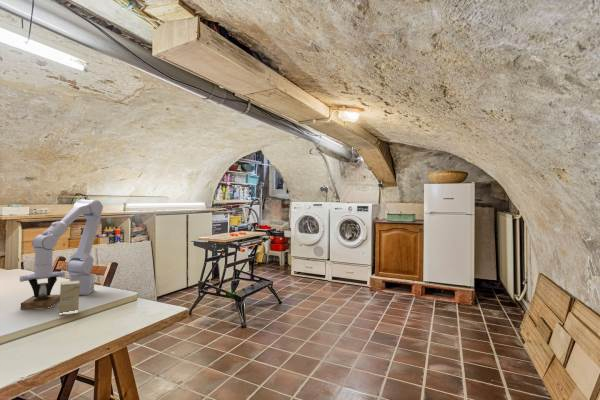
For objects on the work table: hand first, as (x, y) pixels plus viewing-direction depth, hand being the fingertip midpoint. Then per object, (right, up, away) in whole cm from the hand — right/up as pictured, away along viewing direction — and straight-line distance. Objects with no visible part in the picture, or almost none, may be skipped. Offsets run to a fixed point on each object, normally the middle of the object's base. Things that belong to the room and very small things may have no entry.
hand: (42, 296), depth 134 cm
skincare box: (+16, -5, -7) cm, 18 cm away
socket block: (0, -4, 0) cm, 4 cm away
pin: (0, -2, 0) cm, 2 cm away
